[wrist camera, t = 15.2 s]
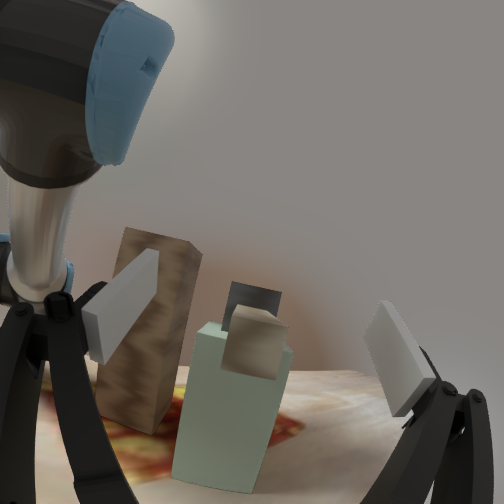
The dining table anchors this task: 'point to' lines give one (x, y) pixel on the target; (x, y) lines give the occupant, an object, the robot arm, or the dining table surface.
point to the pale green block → (225, 418)
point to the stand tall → (150, 336)
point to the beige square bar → (253, 332)
